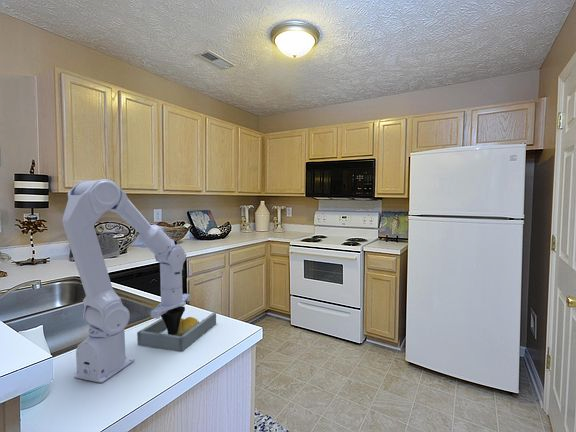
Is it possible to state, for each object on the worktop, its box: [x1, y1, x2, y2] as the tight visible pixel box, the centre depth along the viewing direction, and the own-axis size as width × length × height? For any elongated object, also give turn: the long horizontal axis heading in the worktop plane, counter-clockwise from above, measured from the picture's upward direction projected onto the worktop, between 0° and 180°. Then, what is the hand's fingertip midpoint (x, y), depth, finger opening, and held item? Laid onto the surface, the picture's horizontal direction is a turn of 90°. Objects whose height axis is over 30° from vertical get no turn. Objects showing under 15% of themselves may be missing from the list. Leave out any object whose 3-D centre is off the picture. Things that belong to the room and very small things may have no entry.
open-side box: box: [136, 312, 217, 352], centre depth 89 cm, size 18×14×4 cm
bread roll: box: [169, 316, 200, 336], centre depth 91 cm, size 8×9×4 cm
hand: (172, 333), depth 86 cm, fingers closed
